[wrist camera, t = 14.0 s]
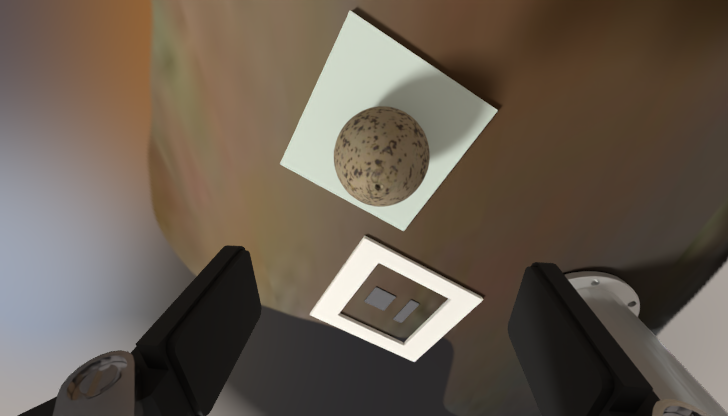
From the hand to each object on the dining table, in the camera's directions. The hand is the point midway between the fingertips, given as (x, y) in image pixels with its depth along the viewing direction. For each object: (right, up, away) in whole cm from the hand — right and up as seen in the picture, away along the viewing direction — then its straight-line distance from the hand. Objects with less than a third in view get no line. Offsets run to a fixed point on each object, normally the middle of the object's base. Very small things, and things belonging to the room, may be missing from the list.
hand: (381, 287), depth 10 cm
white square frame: (+3, -9, +26) cm, 28 cm away
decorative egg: (+1, +9, +16) cm, 18 cm away
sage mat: (+1, +9, +16) cm, 19 cm away
